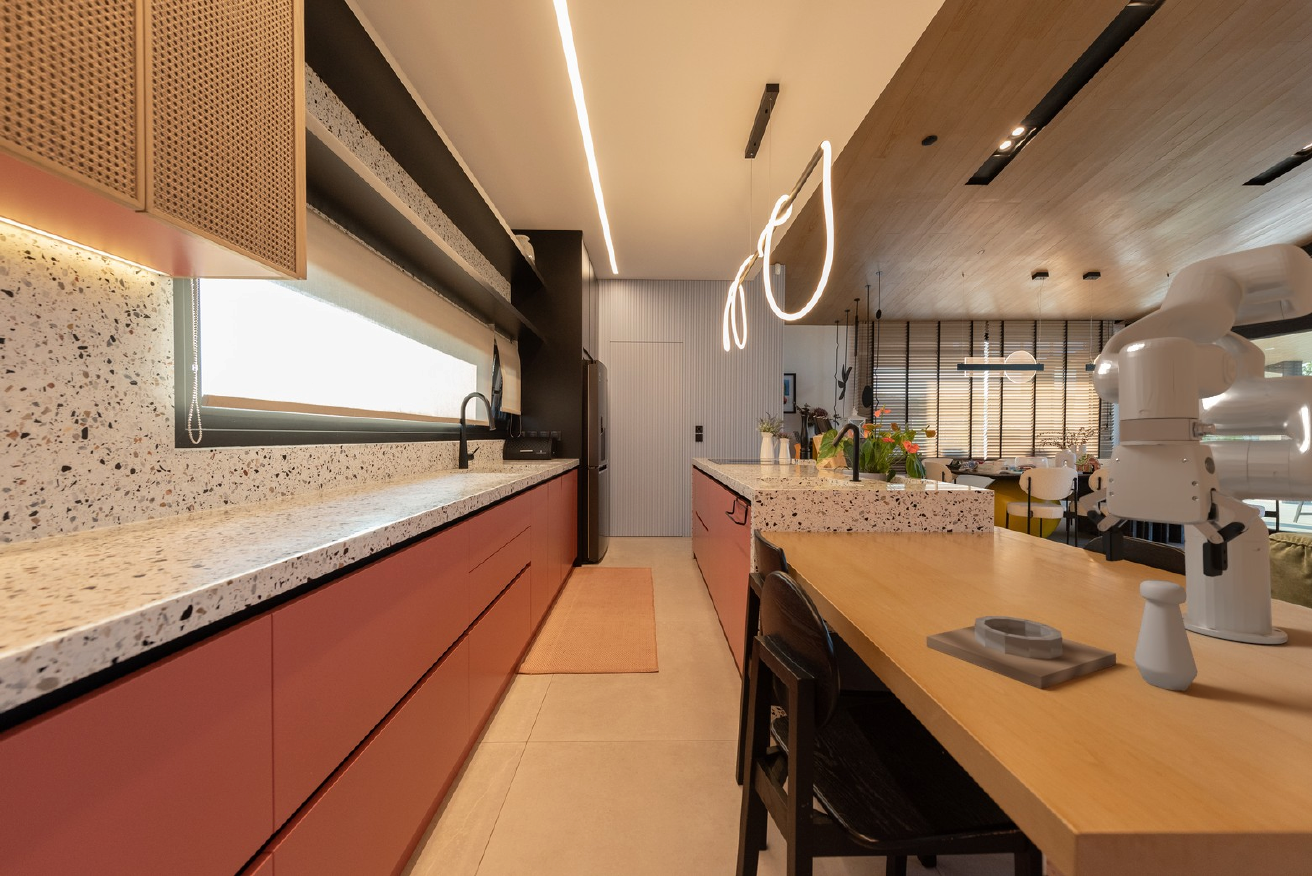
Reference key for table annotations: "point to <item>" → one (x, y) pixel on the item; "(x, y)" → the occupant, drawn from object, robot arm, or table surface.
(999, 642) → the collar board
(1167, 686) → the salt shaker
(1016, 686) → the table surface
